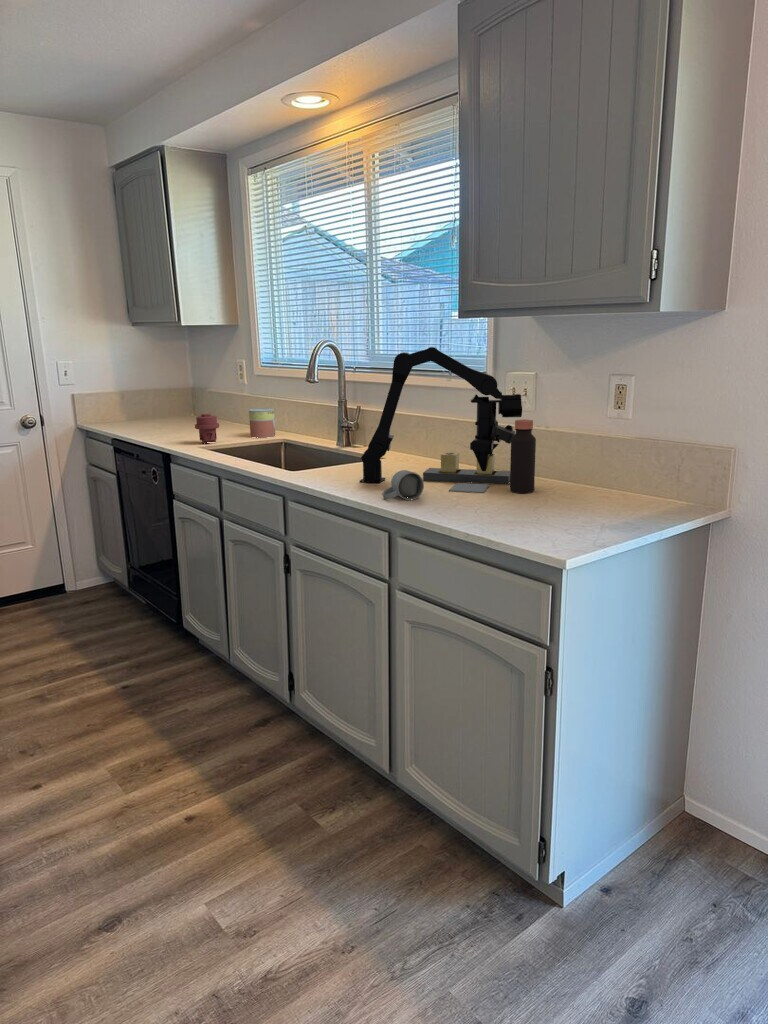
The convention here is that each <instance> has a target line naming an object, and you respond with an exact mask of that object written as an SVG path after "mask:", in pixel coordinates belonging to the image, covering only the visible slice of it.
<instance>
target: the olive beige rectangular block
mask: <svg viewBox="0 0 768 1024" xmlns="http://www.w3.org/2000/svg"><path fill="white" fill-rule="evenodd" d="M495 459H496V457H495V453H492V454H489V456H488V462H487V467H486V471H482V470H481V468H480V465H479V463H478V461H477V460H476V470H477V474H483V475H494V470H495Z"/></svg>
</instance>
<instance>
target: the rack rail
mask: <svg viewBox="0 0 768 1024" xmlns="http://www.w3.org/2000/svg"><path fill="white" fill-rule="evenodd" d="M422 479H423V482H441V481H449V482H448V483H463V482H470V483H469V484H485V483H494V484H493V485H507V484H508V483H509V482H510V470H495V469H494V475H483V474H477V469H471V468H470V469H466V468H459V473H441V467H439V468H438V467H429V468H427V469H426V470H424V471H423V472H422ZM425 480H426V481H425ZM471 482H472V483H471ZM509 484H510V483H509ZM509 484H508V485H509Z"/></svg>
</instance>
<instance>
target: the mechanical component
mask: <svg viewBox="0 0 768 1024" xmlns="http://www.w3.org/2000/svg"><path fill="white" fill-rule="evenodd" d="M217 417H218V416H216V415H212V414H211V413H203V414H202V413H201V415H200V416H198V415H197V416H196V419H195V420H196V424H194V428H195V429H196V430H198V432H199V433H198V435H199V440H200V441H201V444H202V443H207V442H216V443H217V440H218V439H217V429H219V428H220V423H219V422H218V419H217Z"/></svg>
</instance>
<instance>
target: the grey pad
mask: <svg viewBox="0 0 768 1024" xmlns="http://www.w3.org/2000/svg"><path fill="white" fill-rule="evenodd" d="M490 485H491V484H485V483H463V482H455V484H453V486H452V487H451V488H449V489H448V492H450V491H457V492H456V493H470V492H475V494H485V492H486V491H487V490H488V489H489V487H490ZM487 488H488V489H487Z"/></svg>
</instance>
